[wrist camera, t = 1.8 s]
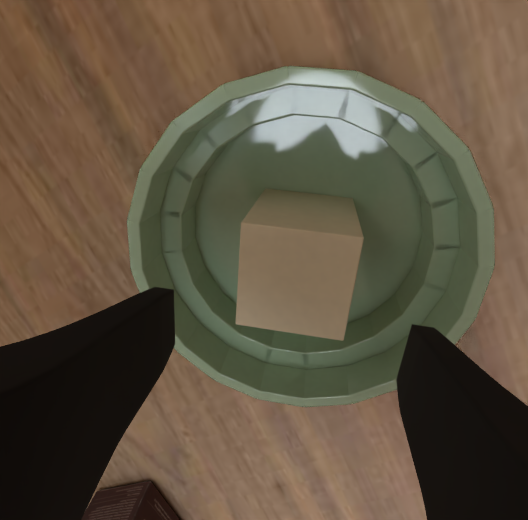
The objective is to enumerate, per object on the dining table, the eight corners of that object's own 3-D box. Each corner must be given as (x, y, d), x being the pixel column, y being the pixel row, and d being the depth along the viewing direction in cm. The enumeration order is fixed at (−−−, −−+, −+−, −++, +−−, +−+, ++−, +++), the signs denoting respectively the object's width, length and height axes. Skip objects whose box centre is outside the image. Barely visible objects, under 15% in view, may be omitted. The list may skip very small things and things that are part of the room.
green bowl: (496, 90, 16) (561, 85, 12) (413, 364, 22) (435, 431, 18) (167, 65, 18) (113, 52, 13) (173, 326, 24) (138, 378, 20)
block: (353, 197, 19) (364, 237, 13) (339, 277, 20) (343, 341, 15) (265, 187, 19) (240, 222, 14) (258, 266, 21) (235, 324, 15)
